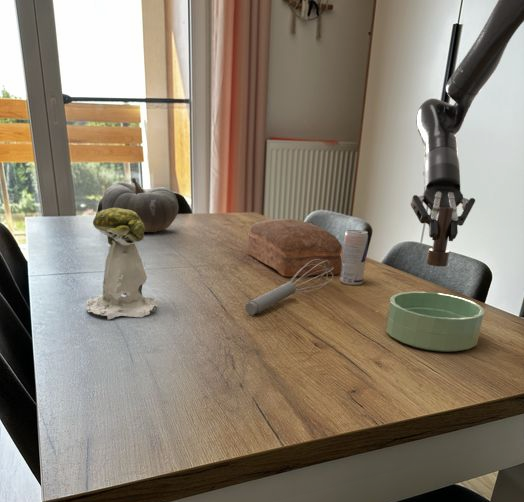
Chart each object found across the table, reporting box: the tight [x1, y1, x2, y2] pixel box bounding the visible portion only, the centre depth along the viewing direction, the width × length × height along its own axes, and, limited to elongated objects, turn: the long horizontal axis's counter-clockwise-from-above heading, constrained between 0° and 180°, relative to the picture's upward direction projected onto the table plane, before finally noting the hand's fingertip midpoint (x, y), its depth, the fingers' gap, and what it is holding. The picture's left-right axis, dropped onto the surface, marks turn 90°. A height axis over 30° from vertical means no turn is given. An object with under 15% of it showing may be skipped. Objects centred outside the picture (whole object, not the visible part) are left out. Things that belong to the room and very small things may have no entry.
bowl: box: [385, 291, 486, 353], centre depth 89 cm, size 15×15×6 cm
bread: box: [245, 218, 343, 278], centre depth 136 cm, size 17×29×11 cm, turn 20°
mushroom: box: [85, 208, 158, 320], centre depth 93 cm, size 12×13×18 cm
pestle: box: [425, 207, 453, 267], centre depth 110 cm, size 4×4×12 cm
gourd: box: [101, 177, 180, 233], centre depth 172 cm, size 25×25×17 cm
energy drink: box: [339, 229, 369, 286], centre depth 120 cm, size 5×5×12 cm
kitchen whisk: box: [242, 259, 334, 318], centre depth 106 cm, size 6×34×6 cm, turn 147°
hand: (443, 238), depth 108 cm, fingers closed on pestle, 3 cm apart
